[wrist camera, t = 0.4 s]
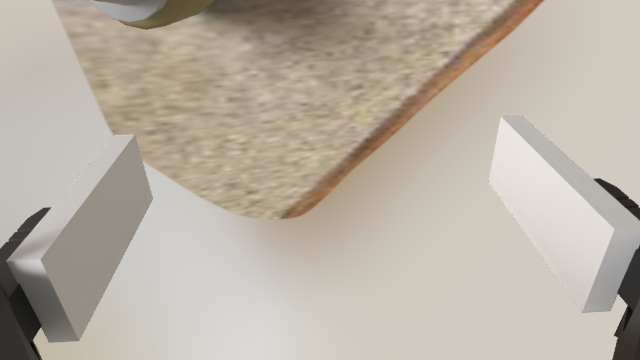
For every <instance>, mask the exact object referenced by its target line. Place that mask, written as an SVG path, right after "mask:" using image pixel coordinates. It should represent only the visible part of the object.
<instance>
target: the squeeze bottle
mask: <svg viewBox="0 0 640 360" xmlns="http://www.w3.org/2000/svg"><path fill="white" fill-rule="evenodd" d="M90 1H91V2H92V3H93V5H94V6H95V7H96V8H97V9H98V10H99V11H101V12H103V13H104V14H106V15H107V16H109V17H111V18H112V19H115V20H118V21H120V22H121V23H123V24H124V25H127V26H132V27H137V28H141V29H152V28H157V27H163V26H167V25H169V24H172V23H175V22H177V21H180V20H183V19H185V18H188V17H191V16H193V15H196V14H198V13H199V12H201V11H202V10H204V9H205V8H206V7H208V6H209V5H211V4H212V3H213V2H214V0H90Z"/></svg>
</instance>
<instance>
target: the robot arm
mask: <svg viewBox="0 0 640 360" xmlns="http://www.w3.org/2000/svg"><path fill="white" fill-rule="evenodd" d="M489 183H490V185H491V186H492V188H493V189H494V190H495V192H496V193H497V195H498V196H499V197H500V199H501V200H502V202H503V203H504V204H505V206H506V207H507V208H508V210H509V211H510V213H511V214H512V216H513V217H514V218H515V220H516V221H517V223H518V224H519V225H520V227H521V228H522V230H523V231H524V232H525V234H526V235H527V237H528V238H529V240H530V241H531V242H532V244H533V245H534V247H535V248H536V249H537V251H538V252H539V253H540V255H541V256H542V258H543V259H544V260H545V262H546V263H547V265H548V266H549V268H550V269H551V270H552V272H553V273H554V275H555V276H556V277H557V279H558V280H559V282H560V283H561V284H562V286H563V287H564V288H565V290H566V291H567V292H568V294H569V295H570V297H571V298H572V300H573V301H574V303H575V304H576V305H577V307H578V308H579V310H580V311H581V312H582V313H585V312H604V311H611V309H612V307H613V304H614V302H615V300H616V297H617V295H618V294H619V295H620V297H621V298H622V299H623V300H624V301H625V302H626V304H627V305H628V306H627V308H626V311H625V313H624V315H623V317H622V319H621V321H620V323H619V326H618V328H617V330H616V332H615V334H614V336H616V337H618V339H617V343H616V347H615V352H614V355H613V359H612V360H640V208H639V207H638V205H637V204H636V203H635V202H634V201H633V200H631V199H629V197H628V196H627V195H625V194H624V193H623V192H622V191H621V190H620V189H618V188H617V187H615V186H614V185H612V184H610V183H607V182H606V181H603V180H602V179H600V178H599V179H592V178H591V177H590V176H589V175H588V174H587V173H586V172H585V171H583V170H582V169H581V168H580V167H579V166H578V165H577V164H576V163H574V162H573V161H572V160H571V159H570V158H569V157H568V156H567V155H566V154H564V153H563V152H562V151H561V150H560V149H559V148H558V147H557V146H555V145H554V144H553V143H552V142H551V141H550V140H549V139H548V138H546V137H545V136H544V135H543V134H542V133H541V132H540V131H539V130H538V129H536V128H535V127H534V126H533V125H532V124H531V123H530V122H529V121H527V120H526V119H525V118H524V117H523V116H504V117H501V119H500V124H499V130H498V135H497V140H496V145H495V150H494V156H493V161H492V166H491V171H490V177H489ZM152 199H153V197H152V194H151V190H150V187H149V183H148V179H147V176H146V172H145V169H144V165H143V161H142V158H141V154H140V151H139V147H138V143H137V140H136V136H135V134H130V135H113V136H112V137H111V139H110V140H109V141H108V142H107V143H106V145H105V146H104V147H103V148H102V149H101V150H100V151H99V153H98V154H97V155H96V156H95V157H94V159H93V160H92V161H91V162H90V163H89V164H88V166H87V167H86V168H85V169H84V170H83V172H82V173H81V174H80V175H79V176H78V177H77V178H76V180H75V181H74V182H73V183H72V184H71V185H70V187H69V188H68V189H67V190H66V191H65V193H64V194H63V195H62V196H61V197H60V198H59V200H58V201H57V202H56V203H55V204H54V206H53V207H51V208H43V209H41V210H40V211H38V212H37V213H35V214H34V215H32V216H31V217H29V218H28V219H27V220H26V221H25V222H24V223H23V224H22V225H21V226H20V228H19V229H18V230H17V232H15V233H14V234H13V235H12V237H11V238H10V239H9V242H6V243H5V244H4V245H3V246H2V248H1V249H0V360H42V358H41V356H40V354H39V352H38V349H37V347H36V345H35V344H34V342H33V339H34V337H35V336H36V334H37V332H38V331H39V329H40V328H42V330H43V331H44V334H45V336H46V337H47V339H48V341H49V342H67V341H79V340H80V338H81V336H82V334H83V332H84V330H85V329H86V327H87V325H88V323H89V321H90V319H91V317H92V315H93V313H94V311H95V309H96V307H97V305H98V304H99V302H100V300H101V298H102V296H103V294H104V292H105V290H106V288H107V286H108V284H109V282H110V280H111V279H112V276H113V274H114V273H115V271H116V269H117V267H118V265H119V263H120V261H121V259H122V257H123V255H124V253H125V252H126V250H127V248H128V246H129V244H130V242H131V240H132V238H133V236H134V234H135V232H136V230H137V229H138V227H139V224H140V223H141V221H142V219H143V217H144V215H145V213H146V211H147V209H148V207H149V205H150V204H151V202H152Z"/></svg>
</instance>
